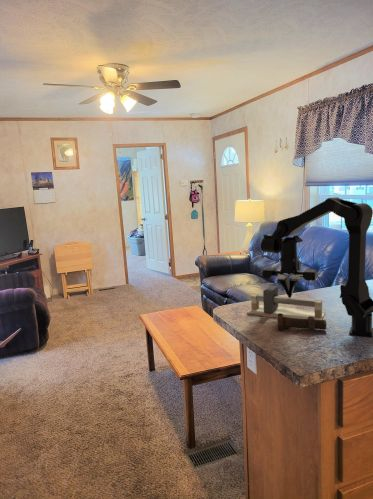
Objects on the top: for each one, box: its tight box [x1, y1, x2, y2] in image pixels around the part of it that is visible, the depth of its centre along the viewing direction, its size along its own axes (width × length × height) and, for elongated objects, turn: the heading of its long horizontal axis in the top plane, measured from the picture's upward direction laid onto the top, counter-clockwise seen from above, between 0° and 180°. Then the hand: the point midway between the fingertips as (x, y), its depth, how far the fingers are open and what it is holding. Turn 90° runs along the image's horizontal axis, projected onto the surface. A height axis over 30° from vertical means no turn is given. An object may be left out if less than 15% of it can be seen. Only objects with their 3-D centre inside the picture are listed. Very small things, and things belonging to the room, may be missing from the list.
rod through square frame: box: [246, 293, 327, 320], centre depth 137 cm, size 10×26×6 cm, turn 60°
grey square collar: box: [262, 285, 279, 313], centre depth 139 cm, size 8×3×8 cm, turn 150°
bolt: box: [277, 313, 327, 333], centre depth 122 cm, size 6×5×15 cm
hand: (289, 297), depth 135 cm, fingers closed
